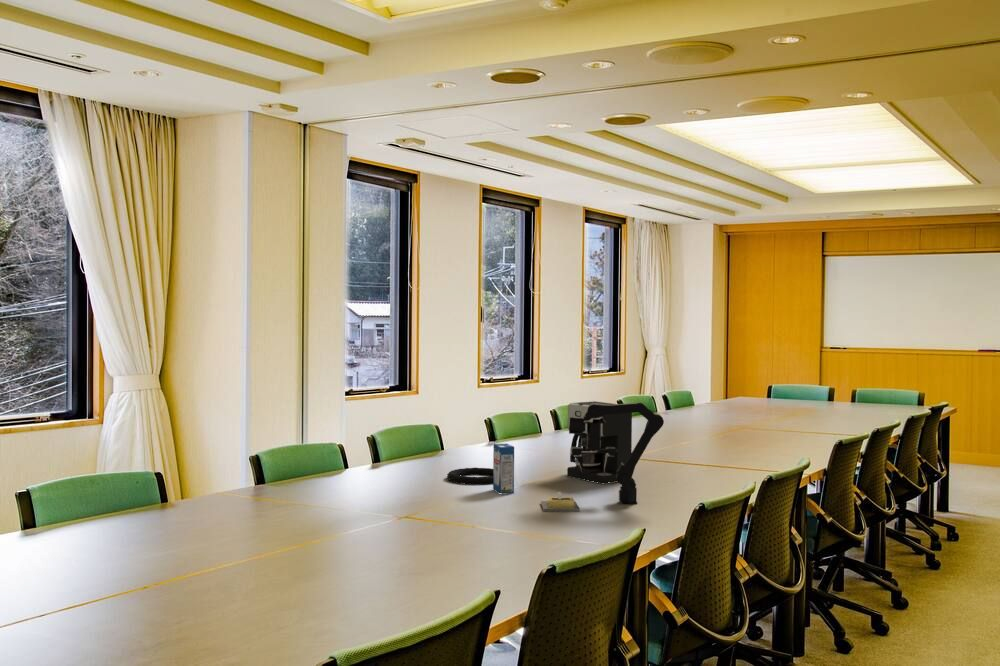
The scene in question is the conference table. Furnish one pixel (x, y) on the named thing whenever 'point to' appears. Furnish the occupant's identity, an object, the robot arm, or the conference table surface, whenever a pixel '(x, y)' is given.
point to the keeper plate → (559, 497)
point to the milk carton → (503, 468)
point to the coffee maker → (612, 435)
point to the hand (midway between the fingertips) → (593, 472)
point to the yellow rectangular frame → (560, 502)
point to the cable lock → (456, 477)
